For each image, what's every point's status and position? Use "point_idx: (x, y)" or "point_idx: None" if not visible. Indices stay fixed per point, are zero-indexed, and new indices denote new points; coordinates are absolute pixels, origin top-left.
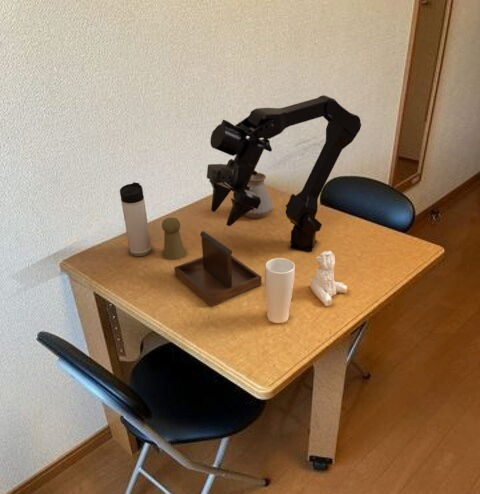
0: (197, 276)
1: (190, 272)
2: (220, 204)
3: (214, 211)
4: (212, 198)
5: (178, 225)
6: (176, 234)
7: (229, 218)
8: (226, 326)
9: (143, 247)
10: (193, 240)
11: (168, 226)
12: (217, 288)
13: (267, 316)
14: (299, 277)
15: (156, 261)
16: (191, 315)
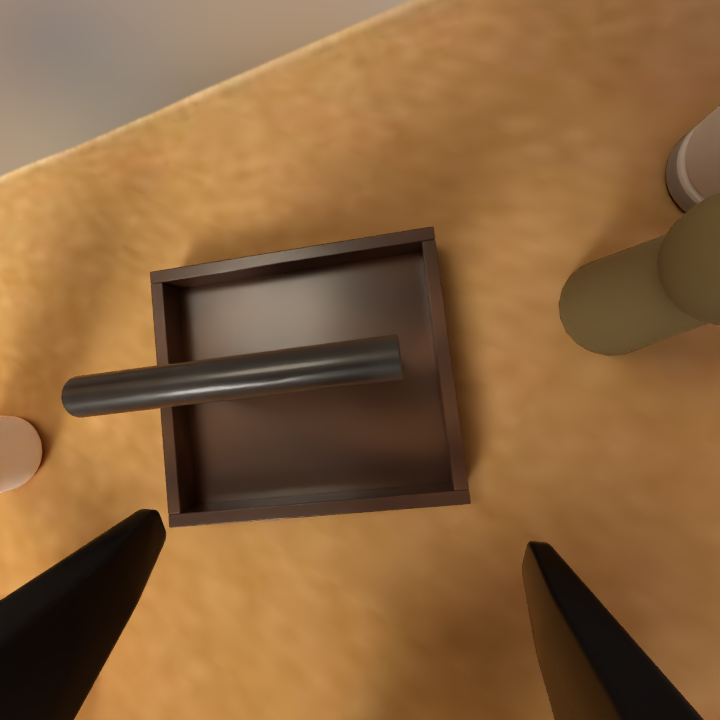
0: (356, 311)
1: (399, 297)
2: (555, 717)
3: (524, 570)
4: (680, 700)
5: (695, 291)
6: (650, 286)
7: (58, 567)
8: (66, 282)
9: (699, 150)
10: (696, 443)
11: (707, 209)
12: (239, 344)
13: (12, 417)
14: (162, 677)
15: (586, 211)
16: (171, 205)
